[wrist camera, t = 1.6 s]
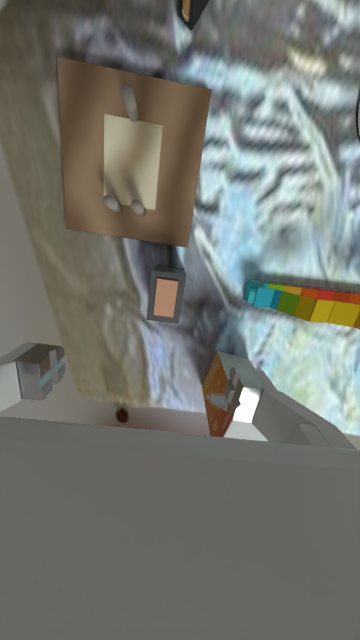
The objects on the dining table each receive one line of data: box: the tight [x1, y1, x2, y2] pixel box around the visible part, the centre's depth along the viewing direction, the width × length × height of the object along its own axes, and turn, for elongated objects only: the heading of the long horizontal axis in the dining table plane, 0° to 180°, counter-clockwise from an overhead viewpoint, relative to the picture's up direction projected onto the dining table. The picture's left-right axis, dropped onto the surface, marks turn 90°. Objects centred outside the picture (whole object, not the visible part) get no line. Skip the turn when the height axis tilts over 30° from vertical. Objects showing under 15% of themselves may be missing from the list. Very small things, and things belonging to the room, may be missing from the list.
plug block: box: [147, 265, 186, 324], centre depth 26 cm, size 4×6×7 cm, turn 172°
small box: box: [202, 351, 268, 441], centre depth 29 cm, size 8×6×13 cm
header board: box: [57, 57, 211, 248], centre depth 22 cm, size 16×16×5 cm
